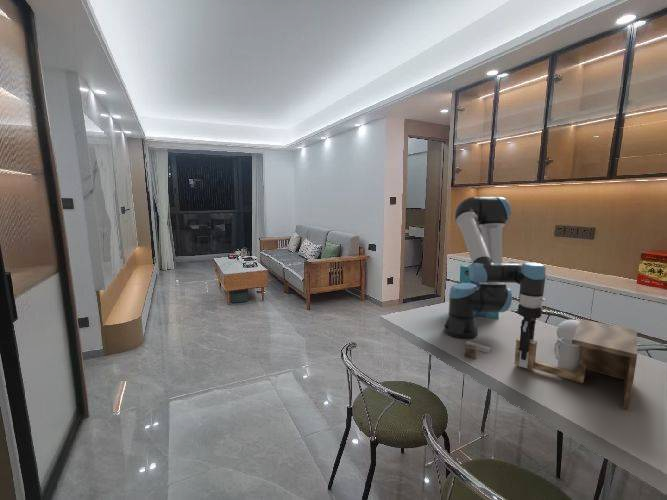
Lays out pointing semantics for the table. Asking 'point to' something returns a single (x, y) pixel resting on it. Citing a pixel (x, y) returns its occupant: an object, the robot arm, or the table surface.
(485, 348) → the grey stick
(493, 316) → the game box
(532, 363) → the wooden u-shaped rack
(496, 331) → the table surface
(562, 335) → the decorative ball
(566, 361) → the mug
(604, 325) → the shelf
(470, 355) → the walnut cube
